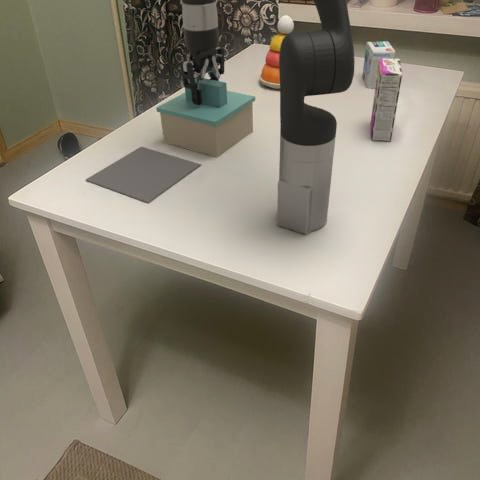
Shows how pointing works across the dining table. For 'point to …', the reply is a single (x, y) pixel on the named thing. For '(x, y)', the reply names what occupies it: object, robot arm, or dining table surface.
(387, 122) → the candy bar box
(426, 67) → the dining table surface
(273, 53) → the stacking toy
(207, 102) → the lid
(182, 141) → the storage box
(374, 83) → the light bulb box
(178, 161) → the rubber mat
